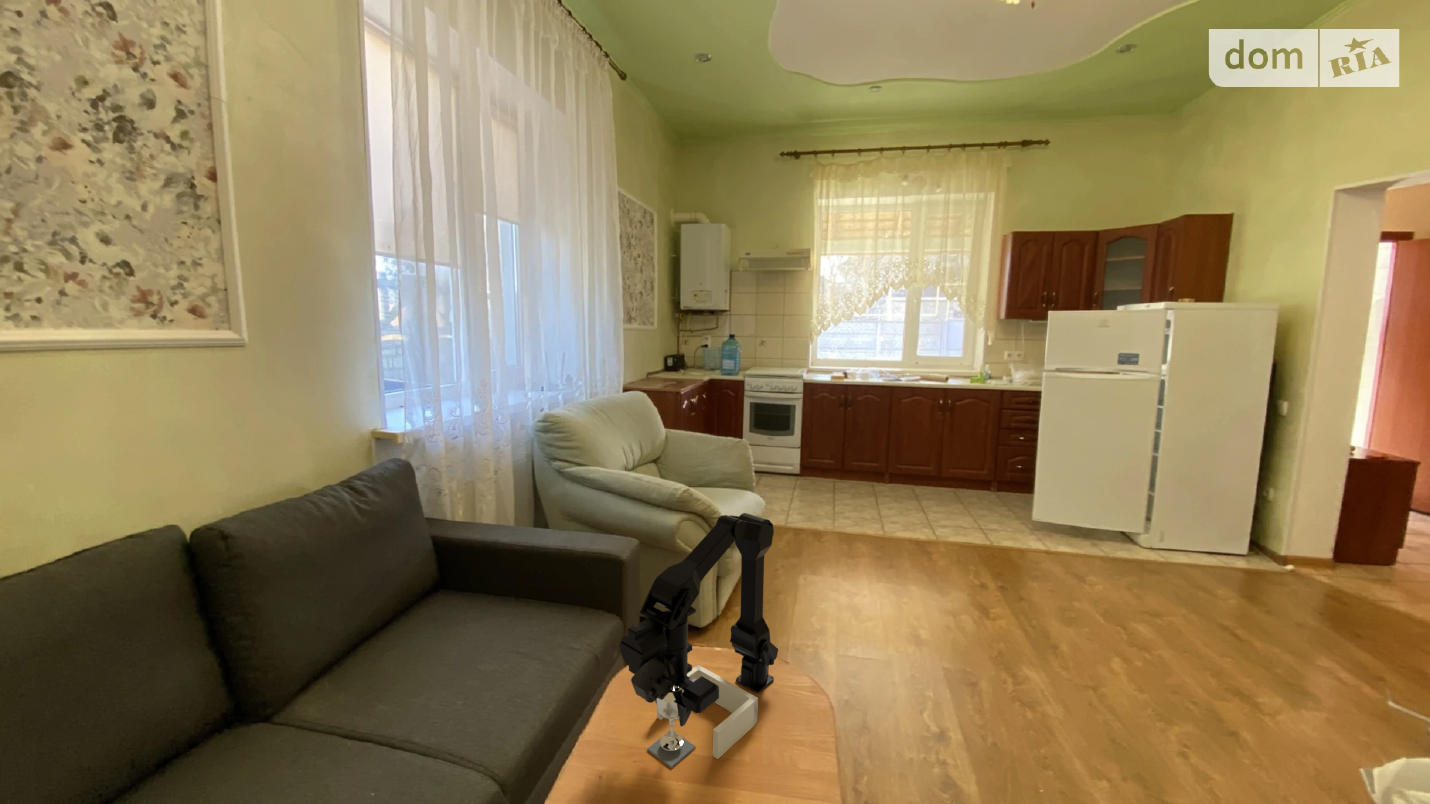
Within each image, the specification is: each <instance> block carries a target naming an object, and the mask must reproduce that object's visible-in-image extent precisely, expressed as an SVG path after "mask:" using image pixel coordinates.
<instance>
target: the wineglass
mask: <svg viewBox="0 0 1430 804" xmlns="http://www.w3.org/2000/svg"><path fill="white" fill-rule="evenodd" d="M681 694H682V688H680V687H677V688H675V687H674V686H672V688H671V691H670V692H669V693H668V694H667V695H666V697H665V698H664V699H663V700H660V699H659V698H657V705H656V709H657V708H658V711H659V713H660V714H661V715H662V716H663V717H664V718H663V719H667V720H668V723H669V725H670V730H671V733H668V732H666V733H667V734H666V733H665V734H664V735H662V736H663V737H662V736H661V737H662V738H661V737H660V738H661V740H660V745H661V747H662V748H663V749H665V750H668V751H674V750H677V749H679V748H680V747H681V746H682V745H683V738H684V737H683V736H682V735H681V734H680V733H677V732H676V733H673V731H674V725H675V720H676V719H679V705H678V704H677V703H675V702H674V701H675V700H676V699H677V698H679V697H680V696H681ZM682 737H683V738H682Z"/></svg>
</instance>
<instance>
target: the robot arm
mask: <svg viewBox="0 0 1430 804" xmlns="http://www.w3.org/2000/svg"><path fill="white" fill-rule="evenodd" d="M774 533H775V529H774V523H773V522H772V521H770V520H769V519H768V518H764V517H760V516H758V515H754V514H751V513H748V512H743V513H741V514H740V515H731V514H729V515H727V514H725V515H720V516H719V517H718V518H717V521H716V523H715V525H714V526H713V527H712V528H711V530H710V531H709V532H708V533H707V534H706V535H705V536H704V537H703V538H702V539H701V541H700V542H699V543H697V545H696V546H695V547H694V549H692V551H690V553H689V554H688V555H687V556H686V557H685V558H684V559H683V560H682V561H680V562H678V563H676V564H673V565H670V566H668V567H667V568H666V569H665V570H663V571H661V573H660V574H658V575H657V576H656V577H655V579H654V580H653V582H652V584H651V587H650V589H649V591H648V594H647V595H646V598H645V600H644V602H643V605H642V606H641V609H640V611H639V614H640V615H641V616H642V617H645V620H643V621H640V622H639V623H637V624H634V625H632V626H629V627H628V628H627V633H626V634H625V635H623V636H622V637H621V639H620V642H619V652H620V654H621V657H622V660H623V661H624V662H625V664H626V665H627V666H628V671H629V672H630V673H632V674H633V676H632V677H631V679H630V682H631V684H632V685H631V686H632V687H633V689H634V692H635V695H637V696H638V697H640V698H641V699H643V700H645V702H648V703H650V704H652V703H653V702H655V704H656V706H657V698H659V699H660V700H663V699H664V698H665V697H666V695H667V694H668V693H669V692H670V691H671V688H672V686H674V687H675V688H677V687H680V688H682V694H681V696H680V697H679V698H677V699H676V700H675V701H674V702H675V703H677V704H678V705H679V717H678V719H679V726H680V727H681V728H682V727H684V726H685V725H686V723H687V722H688V719H689V718H690V715H691V714H692V712H693V713H694V714H701V713H702V712H704V711H706V709H707V708H708V707H710V706H711V705H713V703H715V701H716V700H717V699H719V686H718V685H716V684H715V683H713V682H711V681H709V680H708V679H706V678H704V677H702V676H701V677H700V678H698V679H691V678H690V677H688V676H687V673H689V672H690V671H692V669H693V665H692V664H691V663H688V662H689V661H688V659H689V657H688V655H689V653H691V651H693V645H692V644H691V643H690V642H689V639H688V638H689V635H688V634H689V624H688V623H689V617H691V616H692V615H693V614H695V613H696V611H697V608H695V607H693V606H692V605H693V604H694V602H695V601H696V599H697V598H698V596H699V594H700V592H701V591H700V590H701V584H702V581H703V579H704V578H705V576H706V575H708V573H709V572H710V571H711V569H712V568H714V566H715V565H716V564H717V562H719V560H720V559H721V558H722V557H723V556H724V554H726V552H727V550H729V548H730V547H731V546H732V544H733V543H734V544H735V546H736V548H737V550H738V552H739V554H740V558H741V559H740V560H741V561H740V565H741V566H740V568H741V569H740V612H739V614H740V615H739V617H738V619H737V621H735V624H733V625H731V627H730V640H729V642H730V643H731V645H732V648H733V649H734V654H735V653H736V654H738V655H741V656H742V658H741V667H740V674H739V675H738V676H737V677H736V678H735V681H736V682H737V683H738V684H741V685H742V686H744V687H746V688H747V689H749V690H751V691H753V692H755V693H757V694H759V693H760V692H762V691H763V690H764V689H765V688H766V687H768V686H769V685H770V684H771V683H772V682H773V681H774V680H775V678H774V676H772V675H770V674H769V671H770V670H769V666H773V665H775V661H776V659H777V657H778V653H779V648H778V647H777V646H775V644H773V643H772V642H771V636H770V635H771V634H770V633H771V632H770V628H769V626H768V625H767V622H766V621H765V618H764V583H765V580H764V578H765V575H764V574H765V555H766V554H767V552H768V551H769V549H770V548H771V547H772V545H773V538H774ZM656 604H657V605H659V606H661V607H663V608H665V610H660V609H658V608H657V607H655V605H656Z"/></svg>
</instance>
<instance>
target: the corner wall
mask: <svg viewBox="0 0 1430 804" xmlns="http://www.w3.org/2000/svg"><path fill="white" fill-rule="evenodd" d="M687 676H688V677H690V678H691V679H698V678H700V677H701V676H702V677H704V678H706V679H708V680H709V681H711V682H713V683H715V684H716V685H718V686H719V699H717V700H716V701H715V702H714V703H715V704H717V705H719V706H721V707H722V708H724V709H725V710H726V711H728V712H730V713H731V714H730V715H728V716H727V717H726V718H725V719H724V720H723V721H722V722H720V723H719V724H718V725H717V726H716V727H714V728H713V730H712V731H713V733H712V736H713V737H712V756H713V757H714V758H715V759H717V760H718V759H720V758H721V756H723V755H724V754H725V753H726V752H727V751H729V750H730V749H731V748H732V747H733V746H734V745H735V744H736V743H737V742H738V741H739V740H741V738H743V736H744V735H745V734H747V733H748V732H749V731H750V730H751V729H752V728H753V727H755V725H757V723H758V715H759V714H758V712H759V711H758V710H759V707H758V706H759V698H758V697H757V696H755V695H754V694H751V693H750V692H748V691H746V690H744V689H743V688H740V687H739V686H737V685H735V684H734V683H732V682H731V681H728V680H727V679H725V678H723V677H722V676H719V675H718V674H715V673H714V672H712V671H710V670H709V669H707V668H705V667H703V666H701V665H699V664H697V665H696V666H694V667H692V671H690V672H689V673H687ZM656 718H657V719H659V720H660V721H662V720H663V719H665V718H664V717H663V716H662V715H661V714H660V713H659V711H658V708H657V707H656Z"/></svg>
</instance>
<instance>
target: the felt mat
mask: <svg viewBox="0 0 1430 804" xmlns="http://www.w3.org/2000/svg"><path fill="white" fill-rule="evenodd" d="M667 733H671V729H670V730H669V731H668V732H665V734H667ZM673 733H677V732H676V731H674V730H673ZM663 736H664V735H662V736H661V737H660V738H658V739H657V740H656V741H655V742H653V743H652V744H651V745H649V746H648V747H647V748H646V751H648V753H650V754H652V755H653V756H654V757H655V758H656V759H658V760H660V761H661V762H662V763H663V764H664V765H666V766H667V767H669V768H670V769H673V768H674V767H675V766H677V764H678V763H680V762H681V761H683V759H684V758H686V757H687V756H688V755H690V753H691V752H693V751H694V750H695V749H696V745H694V744H693V743H691V741H688V740H687V739H686V738H685V737H683V736H682V738H683V745H682V746H681V747H680V748H679V749H677V750H674V751H668V750H665V749H663V748H662V747H661V745H660V740H661V738H662V737H663Z"/></svg>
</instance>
